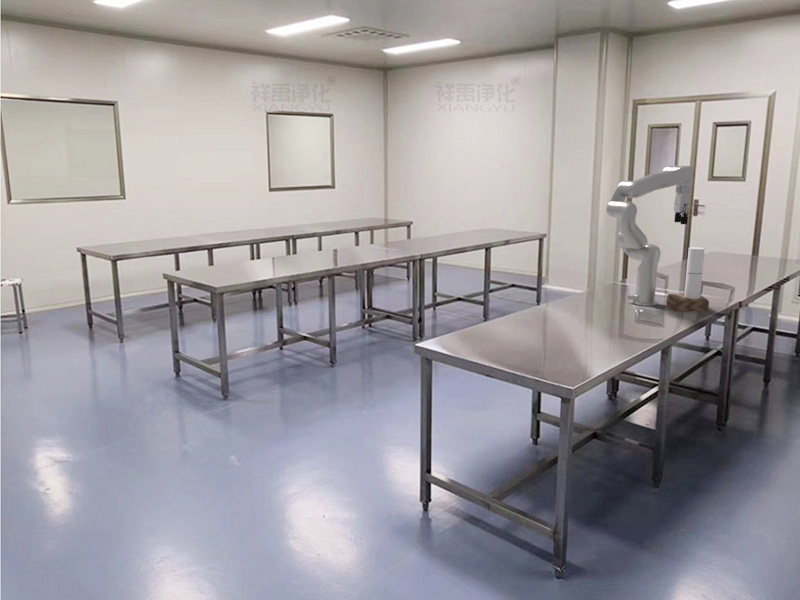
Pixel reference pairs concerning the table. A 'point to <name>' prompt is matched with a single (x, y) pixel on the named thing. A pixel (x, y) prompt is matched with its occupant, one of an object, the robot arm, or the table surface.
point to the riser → (687, 303)
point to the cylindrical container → (694, 272)
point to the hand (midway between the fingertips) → (680, 223)
